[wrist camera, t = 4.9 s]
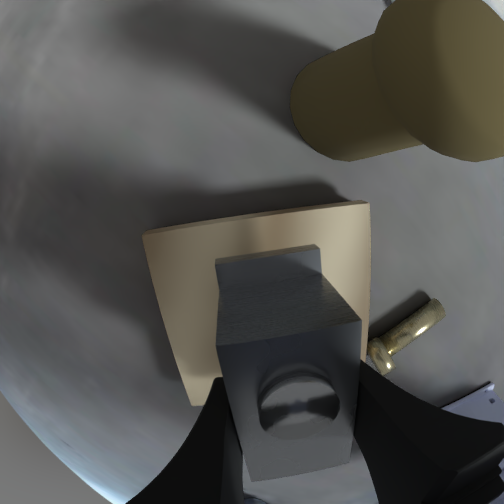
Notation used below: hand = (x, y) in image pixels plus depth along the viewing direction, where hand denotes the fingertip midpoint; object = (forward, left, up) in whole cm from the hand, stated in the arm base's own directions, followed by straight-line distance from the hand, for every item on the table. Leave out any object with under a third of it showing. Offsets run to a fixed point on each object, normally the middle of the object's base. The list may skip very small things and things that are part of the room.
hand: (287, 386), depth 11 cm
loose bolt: (-10, +4, -7) cm, 12 cm away
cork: (-6, -10, -7) cm, 14 cm away
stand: (0, 0, -7) cm, 7 cm away
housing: (0, 0, -3) cm, 3 cm away
